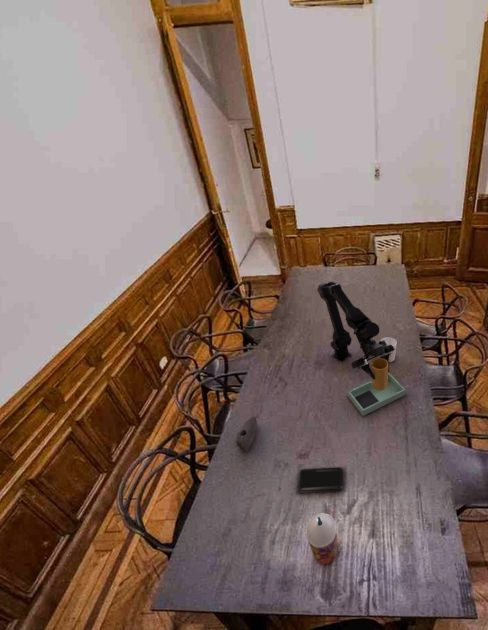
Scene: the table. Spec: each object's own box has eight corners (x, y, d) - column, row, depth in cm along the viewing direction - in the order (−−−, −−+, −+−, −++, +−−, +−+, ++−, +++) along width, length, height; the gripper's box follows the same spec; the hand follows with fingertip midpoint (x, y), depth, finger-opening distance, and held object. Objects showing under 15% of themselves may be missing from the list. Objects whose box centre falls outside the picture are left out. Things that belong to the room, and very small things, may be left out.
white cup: (395, 364, 164) (395, 348, 159) (378, 362, 166) (378, 346, 160) (396, 353, 170) (397, 338, 165) (381, 352, 172) (381, 336, 166)
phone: (342, 489, 113) (297, 490, 113) (342, 490, 114) (298, 492, 114) (342, 466, 120) (300, 468, 120) (343, 468, 120) (300, 470, 120)
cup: (368, 385, 145) (367, 364, 138) (378, 376, 148) (379, 355, 142) (380, 393, 140) (380, 372, 134) (390, 384, 144) (391, 363, 138)
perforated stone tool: (250, 422, 139) (247, 410, 135) (263, 423, 138) (259, 412, 134) (235, 455, 126) (230, 443, 123) (248, 456, 126) (244, 445, 122)
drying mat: (363, 410, 141) (363, 410, 141) (354, 398, 147) (353, 397, 147) (379, 402, 144) (379, 402, 144) (369, 390, 150) (369, 390, 150)
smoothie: (323, 530, 104) (316, 495, 93) (345, 547, 100) (341, 513, 88) (305, 556, 98) (295, 522, 87) (328, 576, 94) (321, 543, 83)
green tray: (363, 416, 139) (362, 410, 137) (348, 397, 148) (347, 391, 146) (405, 395, 148) (405, 389, 146) (388, 378, 157) (388, 372, 155)
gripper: (353, 345, 130) (370, 383, 129) (392, 328, 138) (408, 364, 137) (344, 350, 140) (359, 385, 139) (381, 334, 148) (396, 367, 147)
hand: (381, 375), depth 140 cm, fingers closed on cup, 7 cm apart
